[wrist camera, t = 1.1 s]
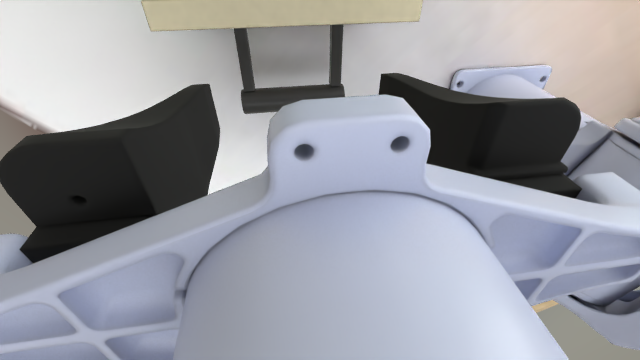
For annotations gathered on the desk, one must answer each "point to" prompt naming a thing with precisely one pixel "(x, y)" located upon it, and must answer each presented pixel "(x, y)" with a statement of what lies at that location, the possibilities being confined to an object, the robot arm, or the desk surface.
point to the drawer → (278, 11)
